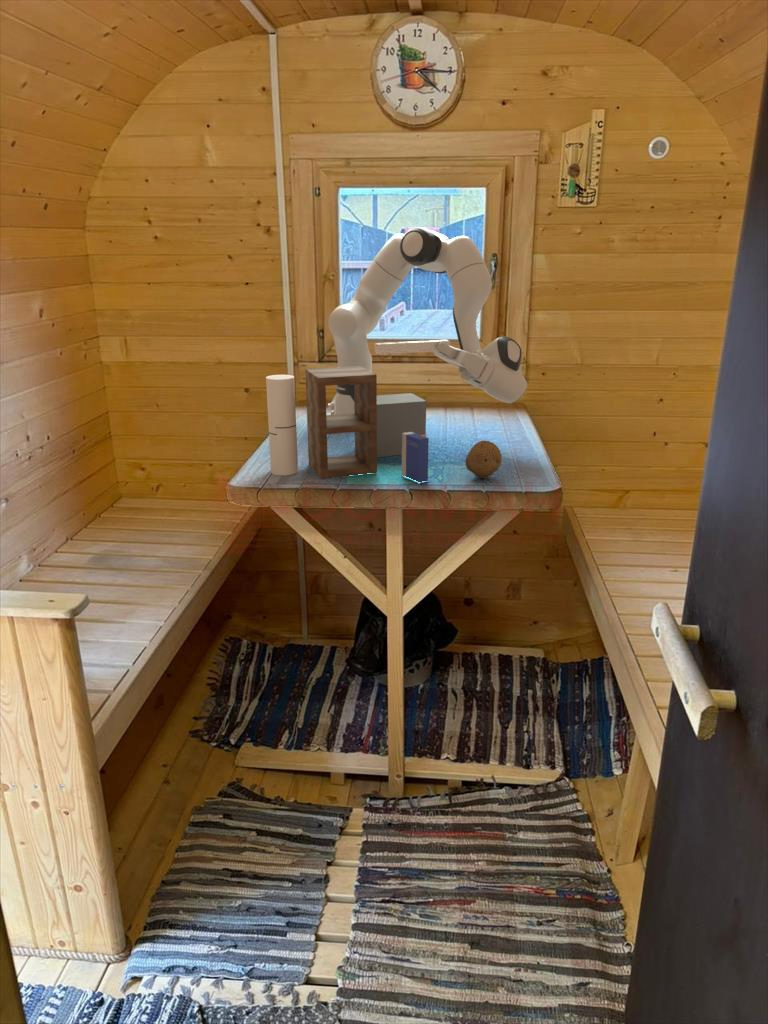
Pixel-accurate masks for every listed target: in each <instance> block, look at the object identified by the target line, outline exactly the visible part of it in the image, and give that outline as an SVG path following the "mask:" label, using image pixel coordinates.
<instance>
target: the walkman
mask: <svg viewBox="0 0 768 1024" xmlns="http://www.w3.org/2000/svg"><path fill="white" fill-rule="evenodd" d="M429 443H430V442H429V437H428V436H427V435H426V436H425V435H419V434H416V433H413V432H406V433H402V455H401V476H402V475H403V476H406V477H409V478H411V479H413V480H416V481H418V482H422V481H429V476H428V475H429V445H430V444H429Z"/></svg>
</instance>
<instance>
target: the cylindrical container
mask: <svg viewBox="0 0 768 1024" xmlns="http://www.w3.org/2000/svg"><path fill="white" fill-rule="evenodd" d="M265 383H266V384H265V387H266V402H267V406H266V407H267V421H268V423H267V424H268V440H269V453H270V454H269V459H270V461H269V462H270V473H271V474H272V475H275V476H291V475H295V474H297V473H298V472H299V461H298V459H299V457H298V456H299V455H298V437H297V435H298V434H297V415H296V414H297V413H296V410H297V409H296V394H295V393H296V386H295V376H294V375H291V374H272V375H268V376H266V377H265Z"/></svg>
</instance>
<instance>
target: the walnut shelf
mask: <svg viewBox="0 0 768 1024" xmlns="http://www.w3.org/2000/svg"><path fill="white" fill-rule="evenodd" d="M304 371H305V397H306V400H305V401H306V421H307V423H306V424H307V451H308V456H307V457H308V465H309V467H310V468H311V469H312V470H313V472H315V474H316V475H317V477H319V478H320V479H321V480H324V479H323V478H330V479H333V478H332V477H340V478H343V477H342V476H349V475H358V474H367V473H376V472H377V473H378V457H377V388H378V387H377V386H378V385H377V382H378V381H377V374H376V373H375V372H373V371H372V372H371V371H369V370H367V369H365V368H363V367H361V366H350V367H338V366H335V367H318V368H305V370H304ZM345 384H354V409H355V413H351V414H337V415H326V414H327V392H326V391H327V389H326V388H327V386H336V385H345ZM347 433H354V454H348V455H339V456H337V455H336V456H329V455H328V435H335V434H347Z"/></svg>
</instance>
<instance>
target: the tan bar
mask: <svg viewBox="0 0 768 1024" xmlns="http://www.w3.org/2000/svg"><path fill="white" fill-rule="evenodd" d="M438 343H442V344H444V345H446V346H448V347H450V346H451V340H448V339H435V340H434V339H433V340H414V341H412V340H411V341H409V340H408V341H389V342H375V343H374V355H378V356H379V355H381V356H383V355H397V354H413V353H414V354H416V353H417V354H418V353H434V352H438V351H440V350H438V349H436V346H437V344H438Z"/></svg>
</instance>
